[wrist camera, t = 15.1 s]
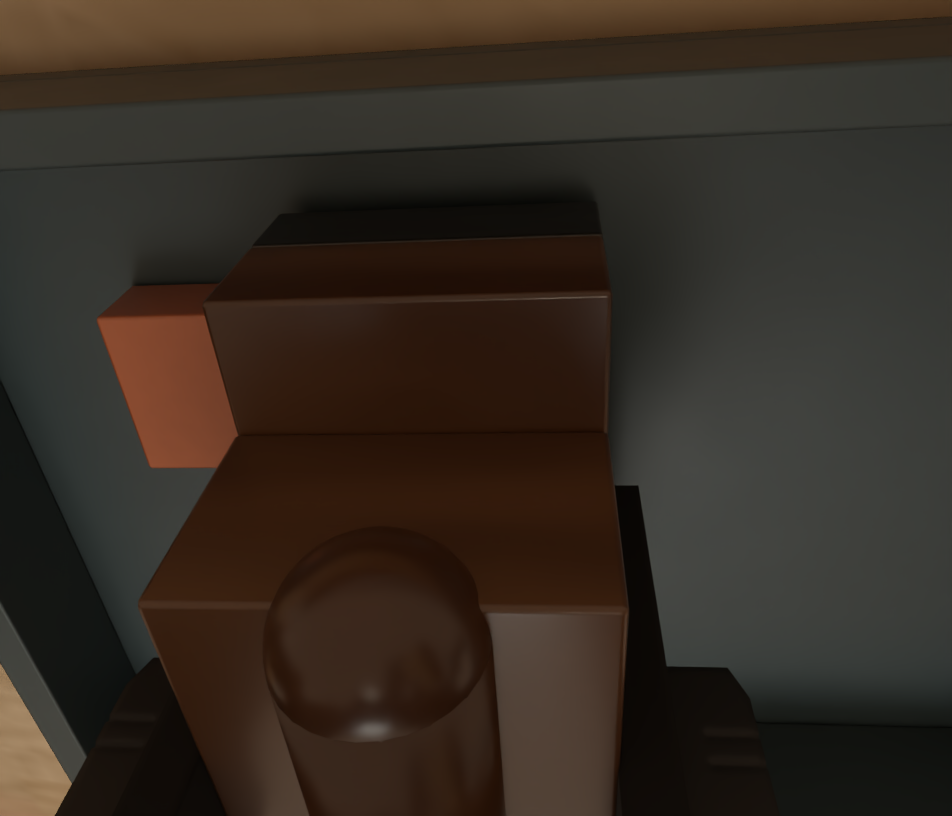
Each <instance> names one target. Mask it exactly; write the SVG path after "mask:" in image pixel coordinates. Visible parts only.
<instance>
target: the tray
mask: <svg viewBox="0 0 952 816" xmlns="http://www.w3.org/2000/svg"><path fill="white" fill-rule="evenodd" d="M568 202H597V205H598V210H599V216H600V222H601V228H602V233H603V241H604V247H605V253H606V259H607V265H608V270H609V276H610V282H611V288H612V294H613V301H612V332H611V362H610V392H609V422H608V437H609V442H610V451H611V459H612V468H613V476H614V485H638V486H639V492H640V499H641V505H642V511H643V518H644V524H645V531H646V537H647V543H648V550H649V556H650V562H651V569H652V575H653V582H654V588H655V594H656V601H657V607H658V613H659V620H660V626H661V633H662V639H663V645H664V652H665V658H666V664H667V666H678V667H725V668H728V669H729V670H730V671H731V673H732V674H733V676H734V677H735V678H736V680H737V681H738V682H739V684H740V685H741V687H742V688H743V689H744V691H745V692H746V693H747V695H748V696H749V698H750V701H751V705H752V709H753V712H754V716H755V720H756V724H757V728H758V732H759V739H760V740H761V744H762V748H763V751H764V755H765V759H766V768H768V771H769V775H770V779H771V783H772V787H773V791H774V794H775V798H776V802H777V806H778V810H779V814H780V816H952V17H939V18H922V19H906V20H890V21H874V22H857V23H841V24H825V25H809V26H793V27H776V28H760V29H744V30H728V31H711V32H695V33H679V34H663V35H647V36H630V37H614V38H598V39H582V40H565V41H549V42H533V43H517V44H501V45H484V46H468V47H452V48H436V49H420V50H403V51H387V52H371V53H355V54H338V55H322V56H306V57H290V58H274V59H257V60H241V61H225V62H209V63H192V64H176V65H160V66H144V67H128V68H111V69H95V70H79V71H63V72H46V73H30V74H14V75H0V663H1V665H2V667H3V668H4V670H5V672H6V673H7V675H8V677H9V678H10V680H11V682H12V684H13V685H14V687H15V689H16V690H17V692H18V694H19V695H20V697H21V699H22V700H23V702H24V704H25V705H26V707H27V709H28V710H29V712H30V714H31V715H32V717H33V719H34V721H35V722H36V724H37V726H38V727H39V729H40V731H41V732H42V734H43V736H44V737H45V739H46V741H47V742H48V744H49V746H50V747H51V749H52V751H53V752H54V754H55V756H56V758H57V759H58V761H59V763H60V764H61V766H62V768H63V769H64V771H65V773H66V774H67V776H68V778H69V779H70V781H71V783H73V781H74V780H75V778H76V776H77V774H78V772H79V770H80V769H81V767H82V765H83V763H84V761H85V759H86V758H87V756H88V754H89V752H90V750H91V748H94V747H95V745H96V742H95V741H96V739H97V737H98V736H99V734H100V732H101V730H102V728H103V726H104V725H105V723H106V722H108V721H109V719H110V716H109V715H110V714H111V712H112V710H113V708H114V706H115V704H116V703H117V701H118V699H119V697H120V695H121V693H122V691H123V690H124V688H125V686H126V684H127V683H128V682H129V681H130V680H131V679H132V678H133V677H134V676H135V675H136V674H137V673H138V672H139V671H140V670H141V669H142V668H143V667H144V666H145V665H146V664H147V663H148V662H149V661H150V660H151V659H153V658H159V656H158V654H157V652H156V649H155V647H154V645H153V642H152V640H151V638H150V635H149V633H148V630H147V628H146V626H145V623H144V621H143V619H142V616H141V614H140V612H139V609H138V601H139V599H140V597H141V595H142V593H143V592H144V590H145V588H146V587H147V585H148V583H149V582H150V580H151V578H152V577H153V575H154V573H155V572H156V570H157V568H158V567H159V565H160V563H161V561H162V560H163V558H164V556H165V555H166V553H167V551H168V550H169V548H170V546H171V545H172V543H173V541H174V540H175V538H176V536H177V535H178V533H179V531H180V529H181V528H182V526H183V524H184V523H185V521H186V519H187V518H188V516H189V514H190V513H191V511H192V509H193V508H194V506H195V504H196V502H197V501H198V499H199V497H200V496H201V494H202V492H203V491H204V489H205V487H206V486H207V484H208V482H209V481H210V479H211V477H212V476H213V474H214V472H215V470H216V469H217V468H151V467H150V466H149V464H148V462H147V459H146V456H145V453H144V451H143V448H142V445H141V442H140V440H139V437H138V434H137V431H136V429H135V426H134V423H133V420H132V418H131V415H130V412H129V409H128V407H127V404H126V401H125V398H124V396H123V393H122V390H121V387H120V384H119V382H118V379H117V376H116V373H115V371H114V368H113V365H112V362H111V360H110V357H109V354H108V351H107V349H106V346H105V343H104V340H103V338H102V335H101V332H100V329H99V327H98V324H97V317H98V316H99V315H100V314H101V313H102V312H103V311H105V310H106V309H107V308H108V307H109V306H110V305H111V304H112V303H113V302H115V301H116V300H117V299H118V298H119V297H120V296H121V295H122V294H123V293H125V292H126V291H127V290H128V289H129V288H130V287H132V286H148V285H182V284H215V283H220V282H221V281H222V280H223V279H224V277H225V276H226V275H227V274H228V273H229V272H230V271H231V270H232V268H233V267H234V266H235V265H236V264H237V263H238V262H239V260H240V259H241V258H242V257H243V256H244V255H245V254H246V253H247V251H248V250H249V249H251V248H252V245H253V244H254V242H255V241H256V240H257V239H258V238H259V237H260V236H261V234H262V233H263V232H264V231H265V230H266V229H267V228H268V227H269V225H270V224H271V223H272V222H273V221H274V220H275V219H276V218H277V216H278V215H280V214H286V213H311V212H337V211H363V210H388V209H414V208H440V207H466V206H491V205H517V204H543V203H568Z"/></svg>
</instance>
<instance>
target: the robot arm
mask: <svg viewBox="0 0 952 816" xmlns="http://www.w3.org/2000/svg"><path fill="white" fill-rule="evenodd" d="M615 493H616V502H617V510H618V519H619V527H620V536H621V544H622V553H623V561H624V570H625V579H626V587H627V596H628V604H629V623H628V639H627V656H626V673H625V690H624V706H623V723H622V740H621V756H620V767H619V771H618V788H617V805H616V816H780V814H779V810H778V806H777V802H776V798H775V794H774V791H773V787H772V783H771V779H770V775H769V771H768V768H766V759H765V755H764V751H763V748H762V744H761V740H760V739H759V732H758V728H757V724H756V720H755V716H754V712H753V709H752V705H751V701H750V698H749V696H748V695H747V693H746V692H745V691H744V689H743V688H742V687H741V685H740V684H739V682H738V681H737V680H736V678H735V677H734V676H733V674H732V673H731V671H730V670H729V669H728V668H725V667H678V666H667V664H666V658H665V652H664V645H663V639H662V633H661V626H660V620H659V613H658V607H657V601H656V594H655V588H654V582H653V575H652V569H651V562H650V556H649V550H648V543H647V537H646V531H645V524H644V518H643V511H642V505H641V499H640V492H639V486H638V485H615ZM109 716H110V719H109V721H108V722H106V723H105V725H104V726H103V728H102V730H101V732H100V734H99V736H98V737H97V739H96V741H95V742H96V745H95V747H94V748H91V750H90V752H89V754H88V756H87V758H86V759H85V761H84V763H83V765H82V767H81V769H80V770H79V772H78V774H77V776H76V778H75V780H74V781H73V783H72V785H71V787H70V789H69V791H68V792H67V794H66V796H65V798H64V800H63V802H62V803H61V805H60V807H59V809H58V811H57V813H56V814H55V816H226V814H225V811H224V809H223V807H222V804H221V802H220V800H219V797H218V795H217V793H216V790H215V788H214V786H213V783H212V781H211V779H210V776H209V774H208V771H207V769H206V767H205V764H204V762H203V760H202V757H201V755H200V753H199V750H198V748H197V746H196V743H195V741H194V739H193V736H192V734H191V732H190V729H189V727H188V724H187V722H186V720H185V717H184V715H183V713H182V710H181V708H180V706H179V703H178V701H177V699H176V696H175V694H174V692H173V689H172V687H171V685H170V682H169V680H168V677H167V675H166V673H165V670H164V668H163V666H162V663H161V661H160V659H159V658H153V659H151V660H150V661H149V662H148V663H147V664H146V665H145V666H144V667H143V668H142V669H141V670H140V671H139V672H138V673H137V674H136V675H135V676H134V677H133V678H132V679H131V680H130V681H129V682H128V683H127V684H126V686H125V688H124V690H123V691H122V693H121V695H120V697H119V699H118V701H117V703H116V704H115V706H114V708H113V710H112V712H111V714H110V715H109Z"/></svg>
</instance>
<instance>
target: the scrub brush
mask: <svg viewBox="0 0 952 816" xmlns="http://www.w3.org/2000/svg"><path fill="white" fill-rule="evenodd" d="M612 301H613V294H612V288H611V282H610V276H609V270H608V265H607V259H606V253H605V247H604V241H603V233H602V228H601V222H600V216H599V210H598V205H597V202H568V203H543V204H517V205H491V206H466V207H440V208H414V209H388V210H363V211H337V212H311V213H286V214H280V215H278V216H277V218H276V219H275V220H274V221H273V222H272V223H271V224H270V225H269V227H268V228H267V229H266V230H265V231H264V232H263V233H262V234H261V236H260V237H259V238H258V239H257V240H256V241H255V242H254V244H253V245H252V248H251V249H249V250H248V251H247V253H246V254H245V255H244V256H243V257H242V258H241V259H240V260H239V262H238V263H237V264H236V265H235V266H234V267H233V268H232V270H231V271H230V272H229V273H228V274H227V275H226V276H225V277H224V279H223V280H222V281H221V282H220V283H219V284H218V285H217V287H216V288H215V289H214V290H213V291H212V292H211V293H210V294H209V296H208V297H207V298H206V299H205V300H204V301H203V305H202V308H203V312H204V315H205V319H206V323H207V326H208V330H209V333H210V337H211V340H212V344H213V348H214V351H215V355H216V358H217V362H218V366H219V369H220V373H221V376H222V380H223V383H224V387H225V391H226V394H227V398H228V401H229V405H230V409H231V412H232V416H233V419H234V423H235V426H236V430H237V434H238V436H237V437H235V438H234V440H233V442H232V444H231V445H230V447H229V449H228V450H227V452H226V454H225V455H224V457H223V459H222V460H221V462H220V464H219V465H218V467H217V469H216V470H215V472H214V474H213V476H212V477H211V479H210V481H209V482H208V484H207V486H206V487H205V489H204V491H203V492H202V494H201V496H200V497H199V499H198V501H197V502H196V504H195V506H194V508H193V509H192V511H191V513H190V514H189V516H188V518H187V519H186V521H185V523H184V524H183V526H182V528H181V529H180V531H179V533H178V535H177V536H176V538H175V540H174V541H173V543H172V545H171V546H170V548H169V550H168V551H167V553H166V555H165V556H164V558H163V560H162V561H161V563H160V565H159V567H158V568H157V570H156V572H155V573H154V575H153V577H152V578H151V580H150V582H149V583H148V585H147V587H146V588H145V590H144V592H143V593H142V595H141V597H140V599H139V601H138V609H139V612H140V614H141V616H142V619H143V621H144V623H145V626H146V628H147V630H148V633H149V635H150V638H151V640H152V642H153V645H154V647H155V649H156V652H157V654H158V656H159V659H160V661H161V663H162V666H163V668H164V670H165V673H166V675H167V677H168V680H169V682H170V685H171V687H172V689H173V692H174V694H175V696H176V699H177V701H178V703H179V706H180V708H181V710H182V713H183V715H184V717H185V720H186V722H187V724H188V727H189V729H190V732H191V734H192V736H193V739H194V741H195V743H196V746H197V748H198V750H199V753H200V755H201V757H202V760H203V762H204V764H205V767H206V769H207V771H208V774H209V776H210V779H211V781H212V783H213V786H214V788H215V790H216V793H217V795H218V797H219V800H220V802H221V804H222V807H223V809H224V811H225V814H226V816H616V805H617V788H618V771H619V767H620V756H621V740H622V723H623V706H624V690H625V673H626V656H627V639H628V623H629V604H628V596H627V587H626V579H625V570H624V561H623V553H622V544H621V536H620V527H619V519H618V510H617V502H616V493H615V485H614V476H613V468H612V459H611V451H610V442H609V437H608V422H609V392H610V362H611V332H612Z"/></svg>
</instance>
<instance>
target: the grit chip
mask: <svg viewBox="0 0 952 816" xmlns="http://www.w3.org/2000/svg"><path fill="white" fill-rule="evenodd" d="M218 284H219V283H215V284H182V285H148V286H132V287H130V288H129V289H128V290H127V291H126V292H125V293H123V294H122V295H121V296H120V297H119V298H118V299H117V300H116V301H115V302H113V303H112V304H111V305H110V306H109V307H108V308H107V309H106V310H105V311H103V312H102V313H101V314H100V315H99V316H98V317H97V324H98V327H99V329H100V332H101V335H102V338H103V340H104V343H105V346H106V349H107V351H108V354H109V357H110V360H111V362H112V365H113V368H114V371H115V373H116V376H117V379H118V382H119V384H120V387H121V390H122V393H123V396H124V398H125V401H126V404H127V407H128V409H129V412H130V415H131V418H132V420H133V423H134V426H135V429H136V431H137V434H138V437H139V440H140V442H141V445H142V448H143V451H144V453H145V456H146V459H147V462H148V464H149V466H150V467H151V468H217V467H218V465H219V464H220V462H221V460H222V459H223V457H224V455H225V454H226V452H227V450H228V449H229V447H230V445H231V444H232V442H233V440H234V438H235V437H237V436H238V434H237V430H236V426H235V423H234V419H233V416H232V412H231V409H230V405H229V401H228V398H227V394H226V391H225V387H224V383H223V380H222V376H221V373H220V369H219V366H218V362H217V358H216V355H215V351H214V348H213V344H212V340H211V337H210V333H209V330H208V326H207V323H206V319H205V315H204V312H203V308H202V305H203V301H204V300H205V299H206V298H207V297H208V296H209V294H210V293H211V292H212V291H213V290H214V289H215V288H216V287H217V285H218Z"/></svg>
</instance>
